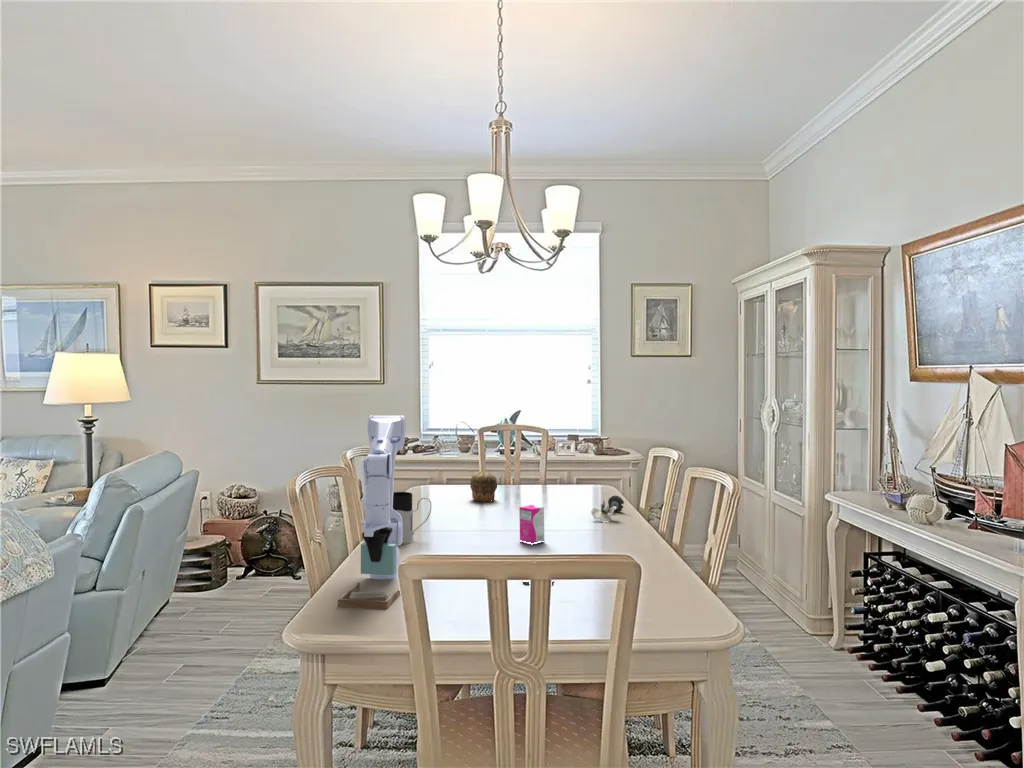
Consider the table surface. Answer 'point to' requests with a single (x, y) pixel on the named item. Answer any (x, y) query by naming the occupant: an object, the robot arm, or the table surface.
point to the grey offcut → (369, 596)
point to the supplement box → (532, 523)
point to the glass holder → (406, 513)
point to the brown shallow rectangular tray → (347, 602)
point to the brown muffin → (483, 486)
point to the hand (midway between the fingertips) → (377, 559)
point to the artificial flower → (608, 508)
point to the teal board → (386, 563)
